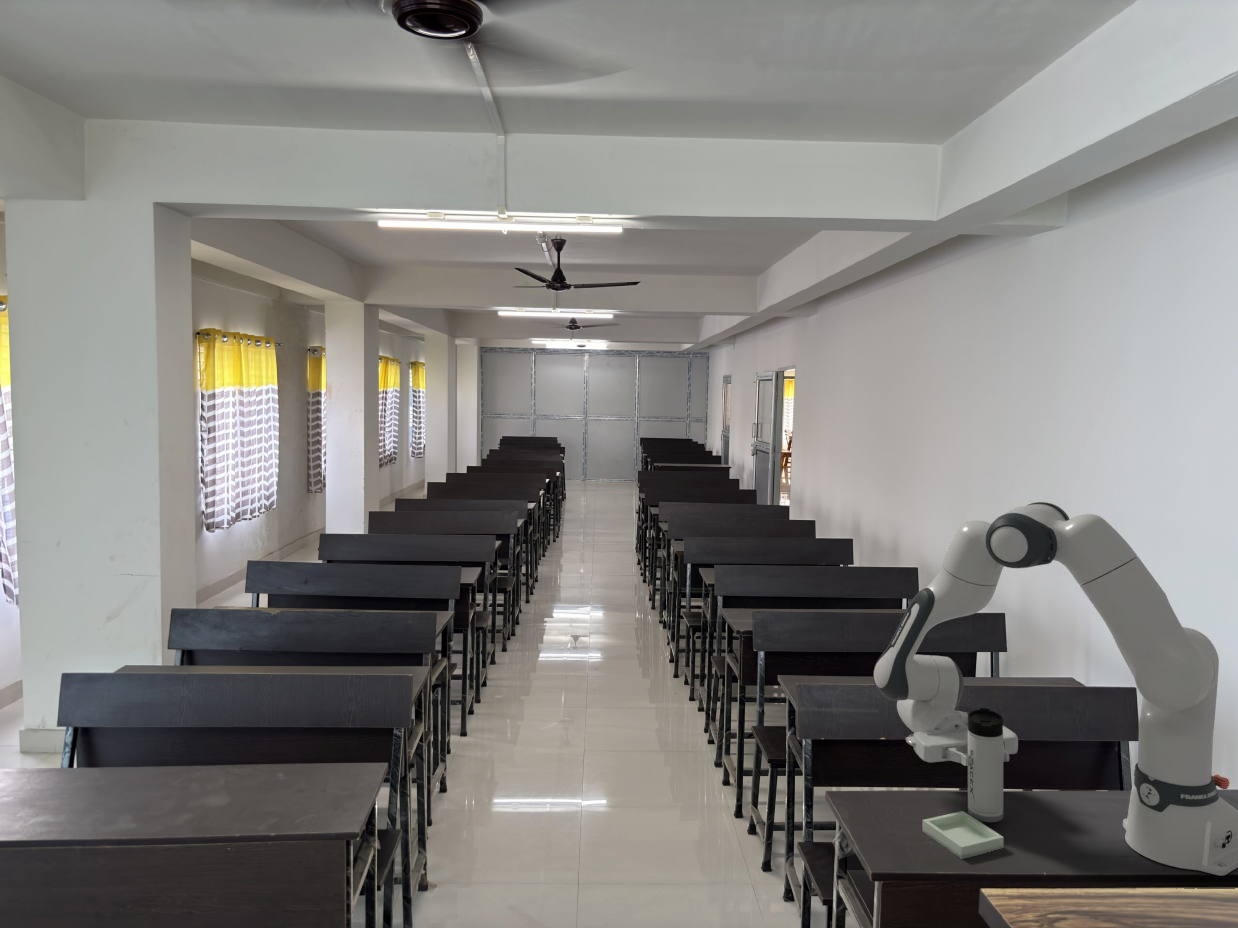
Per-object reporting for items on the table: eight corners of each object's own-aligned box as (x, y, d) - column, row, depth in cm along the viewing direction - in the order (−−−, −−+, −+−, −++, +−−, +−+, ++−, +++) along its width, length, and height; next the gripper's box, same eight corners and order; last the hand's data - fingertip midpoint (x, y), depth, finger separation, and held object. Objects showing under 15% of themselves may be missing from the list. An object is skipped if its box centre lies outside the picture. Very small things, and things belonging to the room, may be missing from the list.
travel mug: (1002, 808, 165) (1002, 709, 164) (1004, 824, 159) (1004, 721, 158) (967, 803, 168) (967, 705, 166) (968, 819, 162) (967, 718, 160)
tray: (962, 821, 163) (962, 810, 163) (1003, 848, 153) (1003, 836, 153) (922, 830, 160) (922, 819, 160) (961, 858, 150) (961, 847, 150)
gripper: (901, 721, 173) (937, 748, 160) (993, 712, 177) (1035, 738, 163) (901, 751, 174) (937, 781, 160) (992, 742, 177) (1035, 770, 164)
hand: (987, 759), depth 162 cm, fingers closed on travel mug, 6 cm apart
